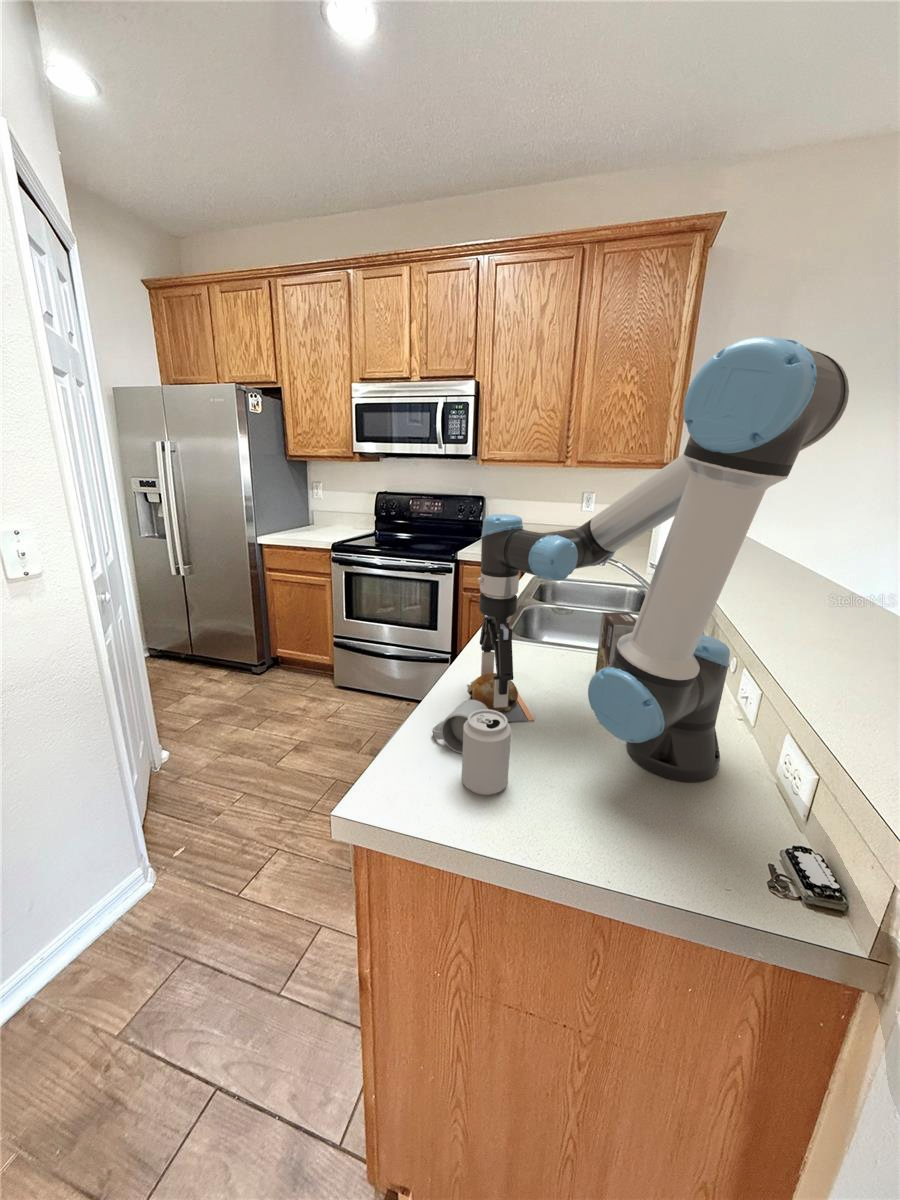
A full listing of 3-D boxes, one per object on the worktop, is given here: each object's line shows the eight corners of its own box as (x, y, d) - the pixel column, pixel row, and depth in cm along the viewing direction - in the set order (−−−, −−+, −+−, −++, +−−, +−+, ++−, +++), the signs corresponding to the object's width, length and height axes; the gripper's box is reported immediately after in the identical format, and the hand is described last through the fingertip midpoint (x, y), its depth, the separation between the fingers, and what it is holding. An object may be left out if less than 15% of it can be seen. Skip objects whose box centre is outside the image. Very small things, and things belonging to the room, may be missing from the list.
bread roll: (491, 731, 99) (507, 704, 95) (455, 698, 103) (469, 671, 99) (515, 712, 106) (531, 686, 102) (481, 681, 110) (495, 656, 106)
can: (494, 805, 74) (498, 737, 70) (452, 787, 78) (454, 721, 74) (515, 778, 80) (519, 714, 76) (475, 763, 84) (478, 701, 80)
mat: (534, 720, 97) (534, 719, 97) (483, 724, 95) (483, 723, 95) (512, 683, 112) (512, 682, 112) (467, 686, 110) (467, 685, 110)
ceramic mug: (493, 734, 92) (494, 698, 90) (480, 758, 85) (481, 720, 83) (442, 723, 96) (442, 688, 94) (425, 745, 88) (424, 708, 86)
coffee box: (633, 692, 109) (643, 625, 105) (604, 691, 110) (613, 624, 105) (620, 674, 118) (629, 611, 113) (593, 673, 118) (601, 610, 113)
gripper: (468, 578, 107) (465, 668, 113) (494, 613, 84) (488, 723, 91) (501, 577, 108) (496, 667, 114) (535, 612, 86) (527, 720, 92)
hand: (493, 692), depth 103 cm, fingers open, 11 cm apart
